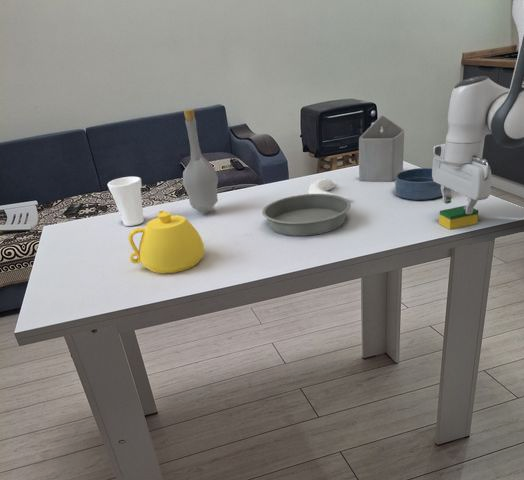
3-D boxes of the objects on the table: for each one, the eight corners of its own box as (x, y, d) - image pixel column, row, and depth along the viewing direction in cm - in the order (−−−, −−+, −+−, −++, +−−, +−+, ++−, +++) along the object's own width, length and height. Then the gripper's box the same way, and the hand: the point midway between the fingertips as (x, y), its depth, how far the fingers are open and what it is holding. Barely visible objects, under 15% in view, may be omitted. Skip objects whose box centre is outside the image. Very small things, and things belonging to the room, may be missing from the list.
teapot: (211, 267, 132) (203, 217, 125) (134, 283, 129) (121, 232, 122) (198, 240, 148) (190, 195, 141) (130, 253, 145) (118, 207, 138)
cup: (141, 215, 173) (132, 174, 166) (155, 222, 165) (146, 179, 158) (113, 224, 168) (102, 182, 161) (125, 231, 161) (114, 188, 154)
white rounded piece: (319, 187, 179) (362, 187, 173) (301, 208, 165) (347, 210, 159) (318, 172, 176) (362, 172, 171) (300, 193, 162) (347, 194, 157)
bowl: (450, 186, 165) (452, 168, 162) (442, 202, 154) (444, 183, 151) (401, 185, 171) (401, 167, 169) (389, 200, 160) (390, 182, 157)
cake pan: (345, 204, 161) (345, 189, 159) (356, 233, 141) (356, 217, 138) (264, 212, 163) (262, 197, 160) (263, 242, 142) (261, 226, 140)
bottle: (229, 212, 166) (214, 108, 150) (196, 222, 162) (177, 115, 146) (214, 204, 174) (199, 105, 158) (182, 213, 170) (163, 111, 154)
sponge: (465, 218, 142) (467, 205, 140) (477, 223, 138) (478, 210, 136) (438, 223, 141) (439, 210, 139) (449, 229, 137) (450, 216, 135)
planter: (369, 186, 174) (370, 122, 163) (358, 180, 180) (358, 119, 170) (414, 177, 177) (417, 114, 167) (401, 172, 184) (404, 111, 173)
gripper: (502, 159, 122) (493, 217, 129) (451, 142, 139) (446, 195, 146) (477, 163, 121) (470, 222, 128) (429, 145, 137) (425, 199, 145)
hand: (457, 207), depth 137 cm, fingers open, 8 cm apart
